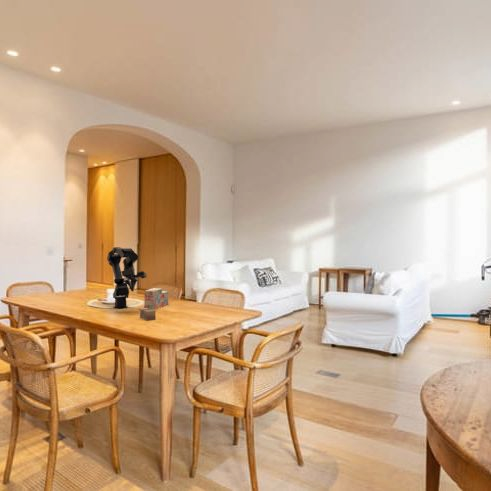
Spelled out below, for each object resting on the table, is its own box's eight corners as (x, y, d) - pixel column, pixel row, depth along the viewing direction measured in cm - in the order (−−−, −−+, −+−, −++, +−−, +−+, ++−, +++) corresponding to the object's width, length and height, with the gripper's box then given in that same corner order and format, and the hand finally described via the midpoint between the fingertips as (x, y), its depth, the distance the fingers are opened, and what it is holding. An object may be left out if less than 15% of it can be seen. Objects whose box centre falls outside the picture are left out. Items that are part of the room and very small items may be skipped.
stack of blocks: (159, 304, 269) (160, 286, 269) (168, 304, 267) (168, 286, 267) (144, 309, 248) (144, 290, 248) (153, 310, 247) (153, 290, 246)
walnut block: (139, 308, 224) (147, 311, 216) (147, 308, 227) (155, 310, 219) (139, 317, 224) (147, 320, 216) (147, 316, 227) (155, 319, 219)
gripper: (108, 267, 233) (112, 292, 228) (139, 259, 233) (142, 284, 228) (116, 272, 243) (119, 296, 238) (145, 264, 243) (149, 288, 238)
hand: (132, 291), depth 235 cm, fingers closed
